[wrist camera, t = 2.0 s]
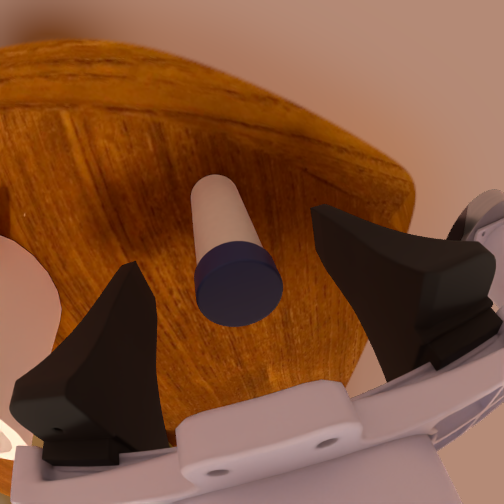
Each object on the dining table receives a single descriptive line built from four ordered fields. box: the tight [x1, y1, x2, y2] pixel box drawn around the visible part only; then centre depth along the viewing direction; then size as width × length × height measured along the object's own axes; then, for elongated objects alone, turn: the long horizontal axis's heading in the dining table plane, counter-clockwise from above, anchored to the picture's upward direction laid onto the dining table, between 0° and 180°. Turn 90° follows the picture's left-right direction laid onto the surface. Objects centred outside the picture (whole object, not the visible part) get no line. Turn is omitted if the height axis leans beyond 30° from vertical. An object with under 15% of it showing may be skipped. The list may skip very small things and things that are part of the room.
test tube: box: [191, 175, 283, 327], centre depth 14 cm, size 3×3×8 cm
